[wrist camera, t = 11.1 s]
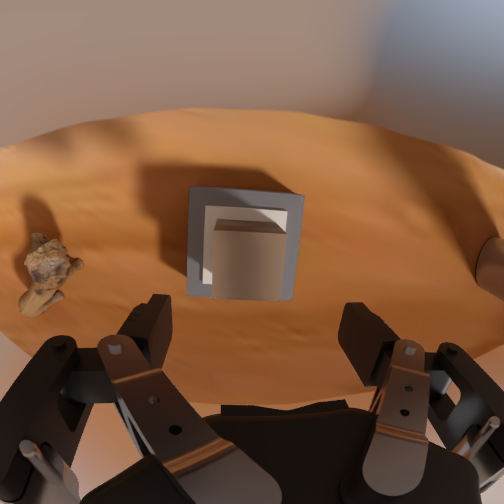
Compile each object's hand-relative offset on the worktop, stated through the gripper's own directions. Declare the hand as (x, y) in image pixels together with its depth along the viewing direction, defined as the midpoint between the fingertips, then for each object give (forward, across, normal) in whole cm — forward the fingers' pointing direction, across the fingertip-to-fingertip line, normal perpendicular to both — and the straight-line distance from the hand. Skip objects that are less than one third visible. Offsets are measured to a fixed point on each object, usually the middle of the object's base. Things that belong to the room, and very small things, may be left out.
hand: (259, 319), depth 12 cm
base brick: (+17, 0, 0) cm, 17 cm away
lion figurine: (+17, +23, +5) cm, 29 cm away
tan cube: (+12, 0, 0) cm, 12 cm away
